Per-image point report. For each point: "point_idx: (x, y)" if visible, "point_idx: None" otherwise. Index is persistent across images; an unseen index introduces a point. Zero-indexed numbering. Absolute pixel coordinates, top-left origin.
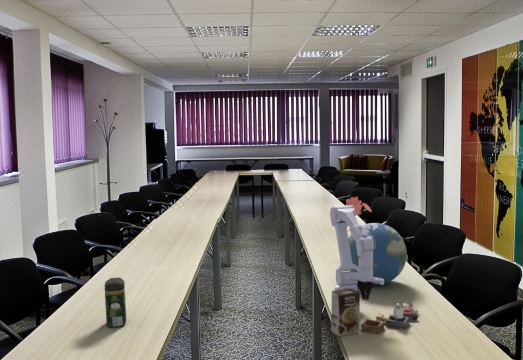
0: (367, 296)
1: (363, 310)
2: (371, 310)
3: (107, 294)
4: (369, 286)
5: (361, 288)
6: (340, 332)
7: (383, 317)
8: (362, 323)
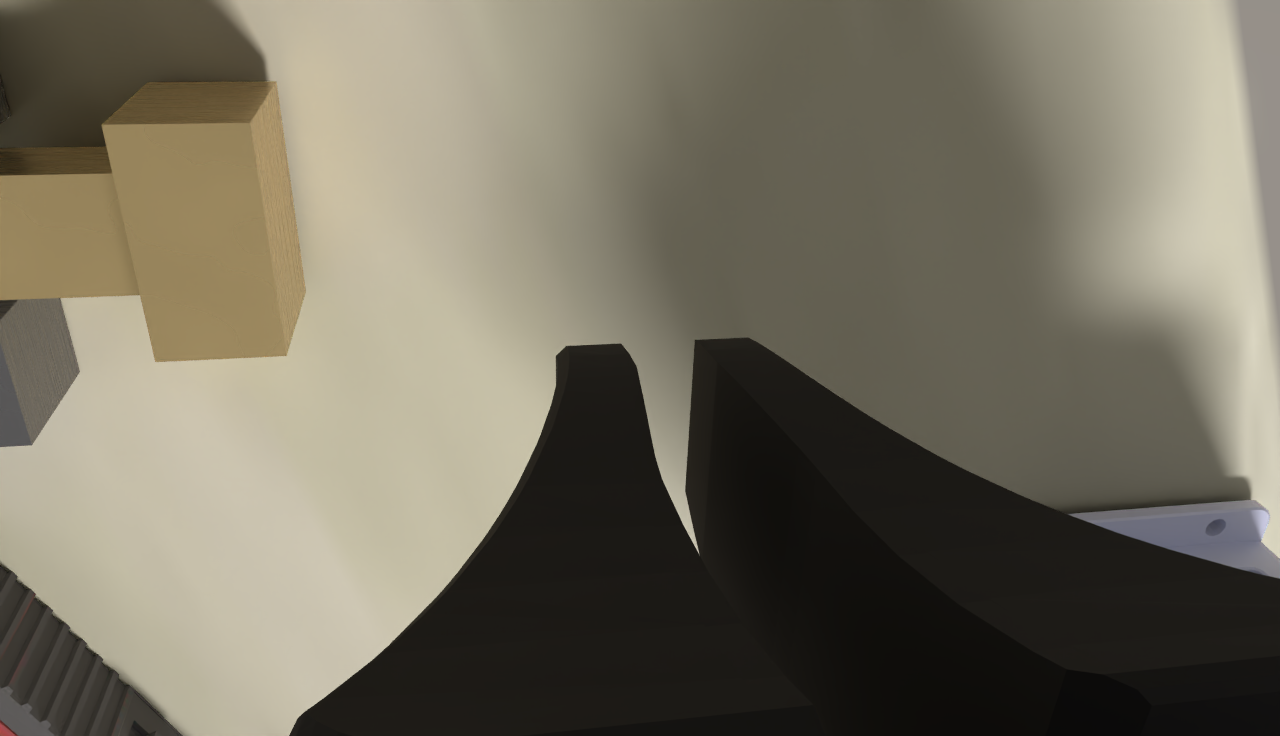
0: (559, 407)
1: None
2: None
3: None
4: (363, 730)
5: (974, 560)
6: None
7: (106, 224)
8: None
